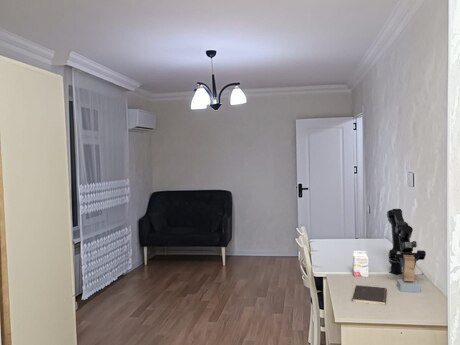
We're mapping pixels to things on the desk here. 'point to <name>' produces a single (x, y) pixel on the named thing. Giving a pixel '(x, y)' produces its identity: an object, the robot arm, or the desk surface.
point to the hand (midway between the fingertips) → (409, 268)
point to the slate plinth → (408, 286)
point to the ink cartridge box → (360, 264)
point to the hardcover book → (370, 294)
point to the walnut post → (408, 267)
